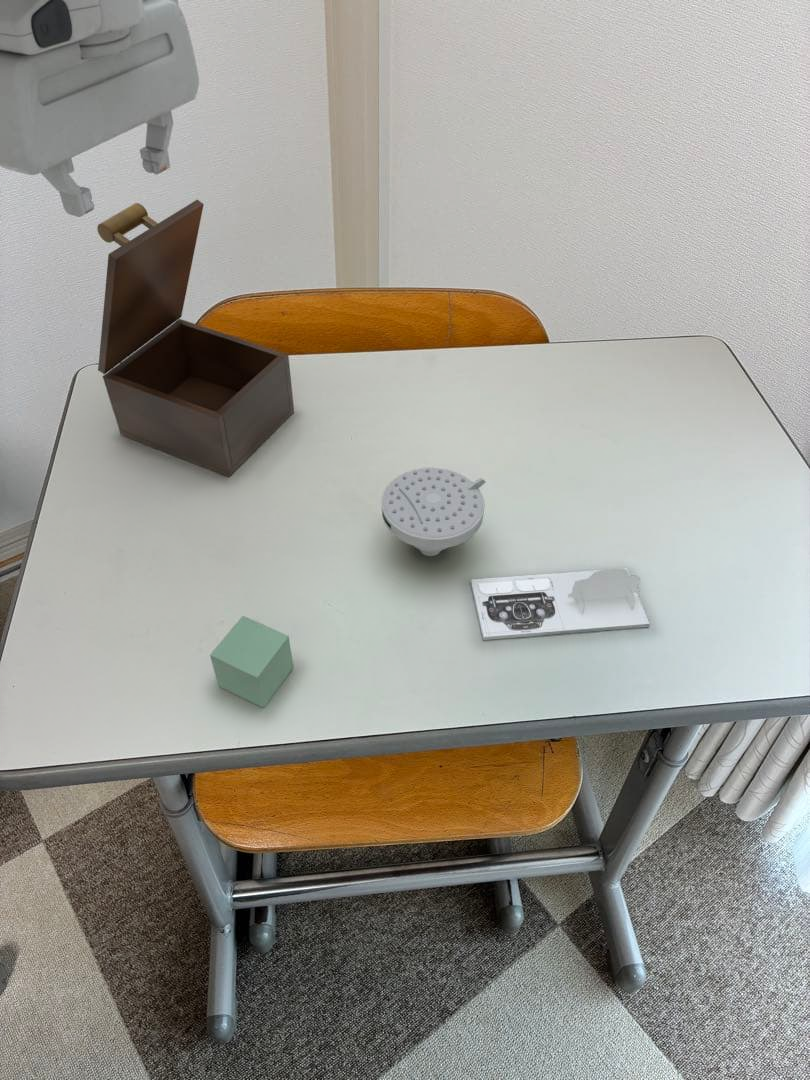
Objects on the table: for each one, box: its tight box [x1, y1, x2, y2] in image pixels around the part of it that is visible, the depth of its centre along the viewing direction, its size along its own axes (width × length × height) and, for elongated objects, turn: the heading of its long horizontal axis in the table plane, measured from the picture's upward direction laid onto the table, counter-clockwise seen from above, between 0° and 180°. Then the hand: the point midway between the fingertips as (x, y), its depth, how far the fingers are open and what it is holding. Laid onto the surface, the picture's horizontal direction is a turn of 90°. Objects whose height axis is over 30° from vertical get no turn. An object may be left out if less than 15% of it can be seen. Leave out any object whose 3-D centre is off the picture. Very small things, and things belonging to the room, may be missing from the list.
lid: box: [96, 199, 205, 375], centre depth 80 cm, size 15×13×5 cm
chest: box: [102, 318, 295, 478], centre depth 87 cm, size 15×13×8 cm
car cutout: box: [470, 567, 651, 641], centre depth 71 cm, size 15×7×4 cm, turn 96°
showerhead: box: [381, 467, 486, 557], centre depth 75 cm, size 9×7×10 cm
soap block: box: [209, 615, 294, 709], centre depth 65 cm, size 4×4×4 cm
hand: (120, 190), depth 65 cm, fingers open, 8 cm apart
